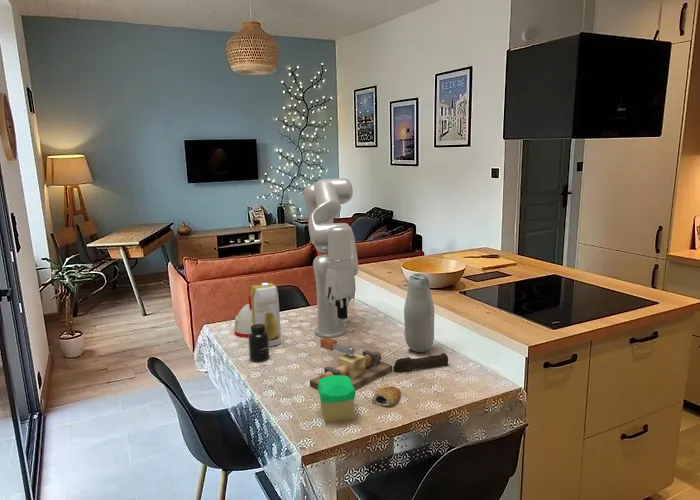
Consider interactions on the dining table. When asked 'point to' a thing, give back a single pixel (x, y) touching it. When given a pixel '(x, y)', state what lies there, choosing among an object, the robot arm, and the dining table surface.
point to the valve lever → (336, 346)
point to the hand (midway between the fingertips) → (342, 318)
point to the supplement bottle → (258, 343)
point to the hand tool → (419, 363)
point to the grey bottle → (419, 314)
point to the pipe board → (364, 376)
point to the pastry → (386, 396)
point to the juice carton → (266, 310)
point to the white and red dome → (244, 321)
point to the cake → (336, 397)
